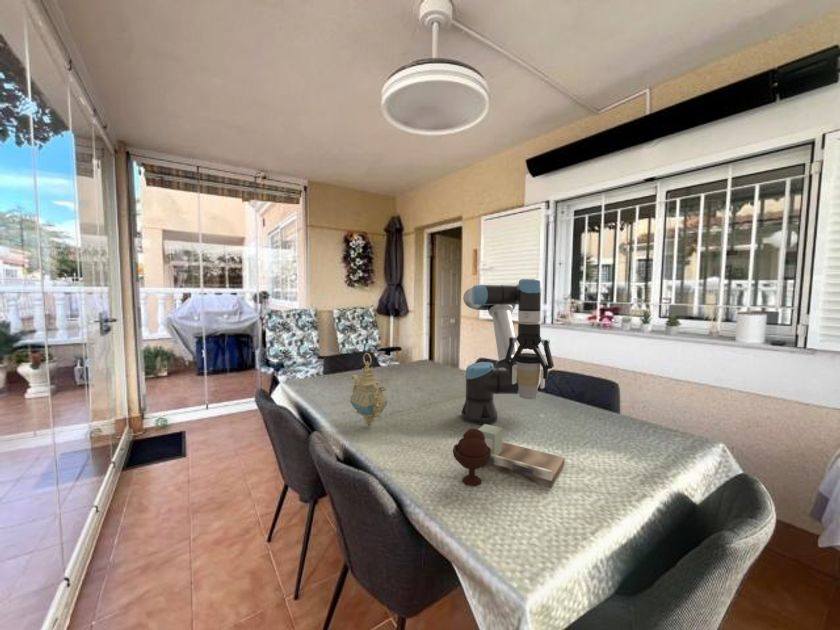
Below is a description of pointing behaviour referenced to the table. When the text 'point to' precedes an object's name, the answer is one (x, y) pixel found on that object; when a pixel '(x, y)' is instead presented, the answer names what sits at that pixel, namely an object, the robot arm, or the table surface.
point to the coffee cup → (528, 374)
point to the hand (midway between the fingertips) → (528, 385)
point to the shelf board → (527, 464)
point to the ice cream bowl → (472, 454)
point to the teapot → (368, 395)
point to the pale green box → (492, 438)
